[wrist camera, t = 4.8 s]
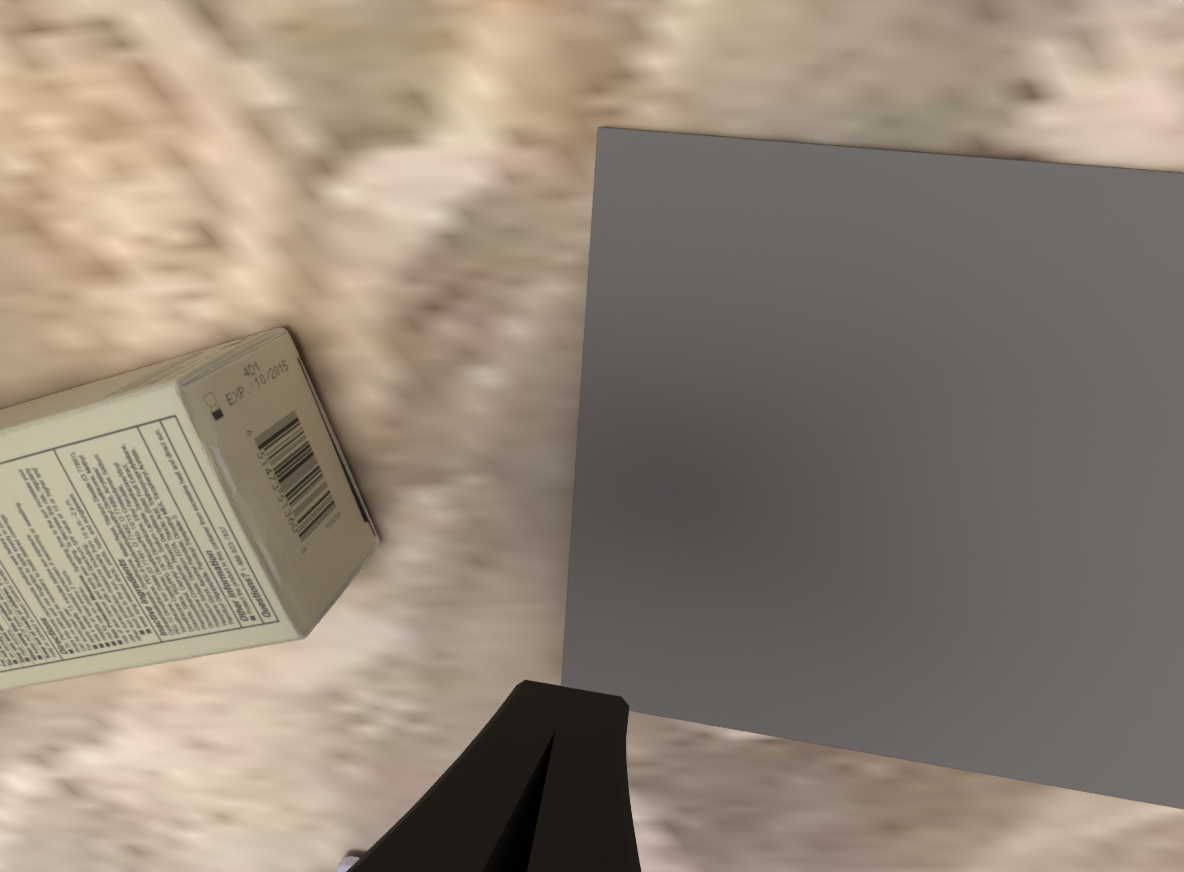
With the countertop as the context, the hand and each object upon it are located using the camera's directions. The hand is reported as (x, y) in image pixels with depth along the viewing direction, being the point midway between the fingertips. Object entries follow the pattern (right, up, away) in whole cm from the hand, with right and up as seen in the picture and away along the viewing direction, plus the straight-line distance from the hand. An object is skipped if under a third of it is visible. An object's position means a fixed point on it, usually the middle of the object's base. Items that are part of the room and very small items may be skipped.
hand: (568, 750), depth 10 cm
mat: (+9, +3, +8) cm, 12 cm away
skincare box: (-6, +3, +8) cm, 10 cm away
